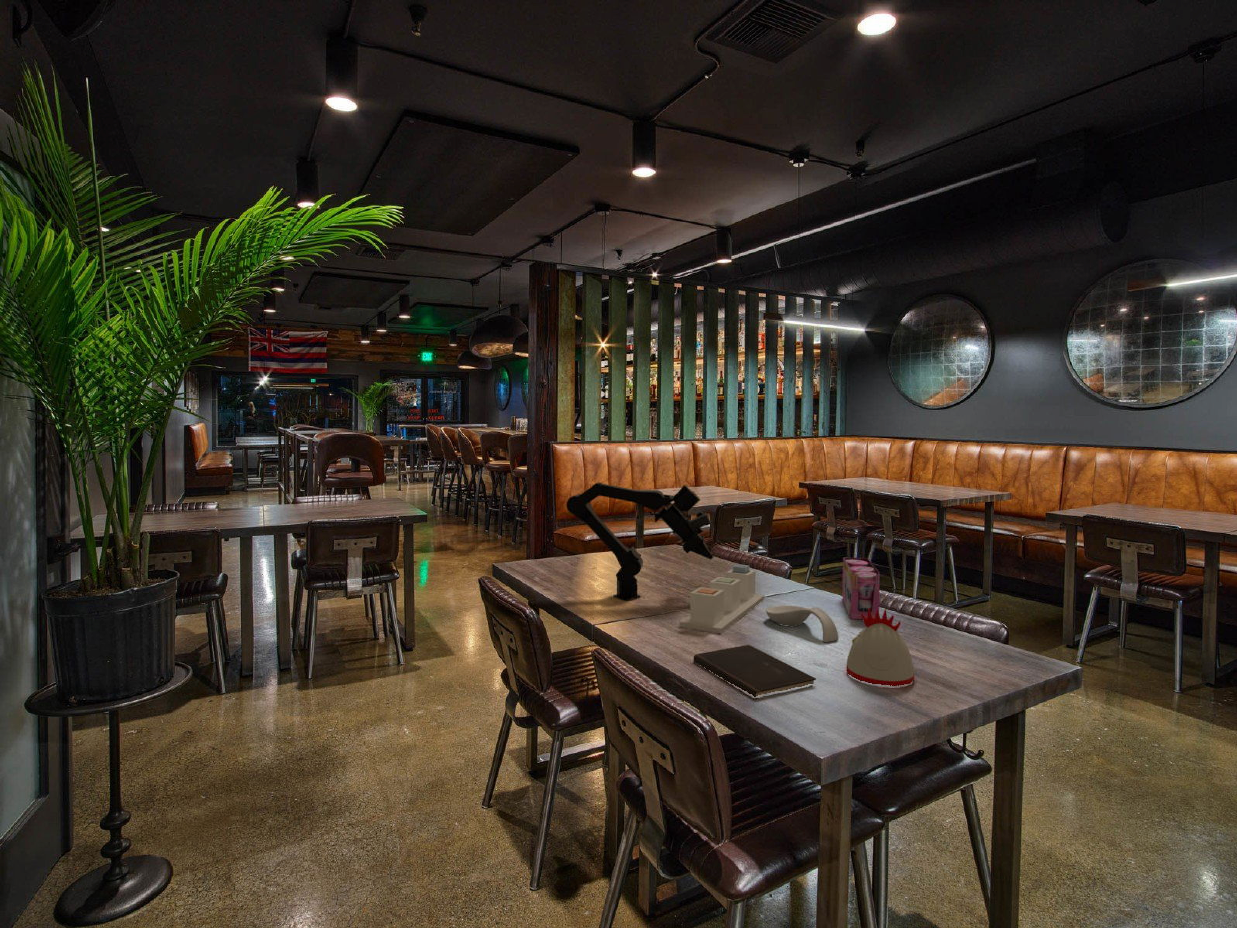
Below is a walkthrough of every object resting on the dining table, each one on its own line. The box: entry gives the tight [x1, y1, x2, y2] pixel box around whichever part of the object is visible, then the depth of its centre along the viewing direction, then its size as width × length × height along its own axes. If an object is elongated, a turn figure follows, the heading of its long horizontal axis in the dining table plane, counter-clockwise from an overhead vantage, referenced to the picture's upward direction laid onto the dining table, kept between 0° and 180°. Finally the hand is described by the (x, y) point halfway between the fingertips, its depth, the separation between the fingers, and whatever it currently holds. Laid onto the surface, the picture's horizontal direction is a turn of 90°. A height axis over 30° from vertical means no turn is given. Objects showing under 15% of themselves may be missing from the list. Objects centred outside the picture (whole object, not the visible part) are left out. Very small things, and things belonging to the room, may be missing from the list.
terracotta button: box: [698, 587, 717, 595], centre depth 176 cm, size 4×4×4 cm
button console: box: [679, 568, 765, 634], centre depth 189 cm, size 12×38×10 cm, turn 150°
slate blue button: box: [732, 563, 750, 574], centre depth 200 cm, size 4×4×4 cm
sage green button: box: [716, 577, 734, 584], centre depth 188 cm, size 4×4×4 cm
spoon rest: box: [765, 605, 840, 643], centre depth 174 cm, size 24×12×7 cm, turn 25°
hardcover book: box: [693, 644, 817, 697], centre depth 143 cm, size 16×23×2 cm
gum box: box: [841, 556, 881, 620], centre depth 192 cm, size 24×8×14 cm, turn 167°
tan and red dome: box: [845, 608, 915, 686], centre depth 141 cm, size 14×14×15 cm
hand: (712, 558), depth 200 cm, fingers closed
